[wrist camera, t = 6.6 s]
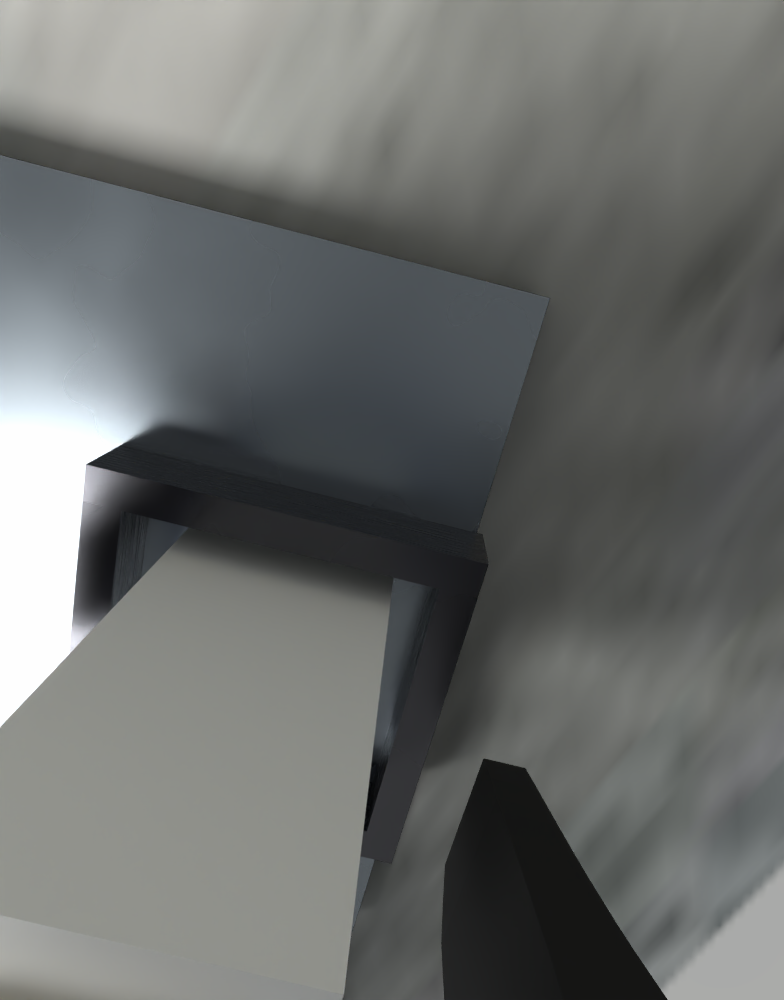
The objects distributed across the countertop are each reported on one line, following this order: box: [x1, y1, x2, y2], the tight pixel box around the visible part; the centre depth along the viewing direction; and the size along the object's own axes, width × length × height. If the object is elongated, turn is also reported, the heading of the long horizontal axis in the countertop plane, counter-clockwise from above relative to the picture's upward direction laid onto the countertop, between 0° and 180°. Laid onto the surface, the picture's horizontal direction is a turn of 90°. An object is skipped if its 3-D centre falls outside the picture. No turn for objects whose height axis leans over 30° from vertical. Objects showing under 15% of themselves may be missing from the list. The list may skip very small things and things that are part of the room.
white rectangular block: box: [0, 528, 393, 1000], centre depth 8 cm, size 4×4×8 cm
